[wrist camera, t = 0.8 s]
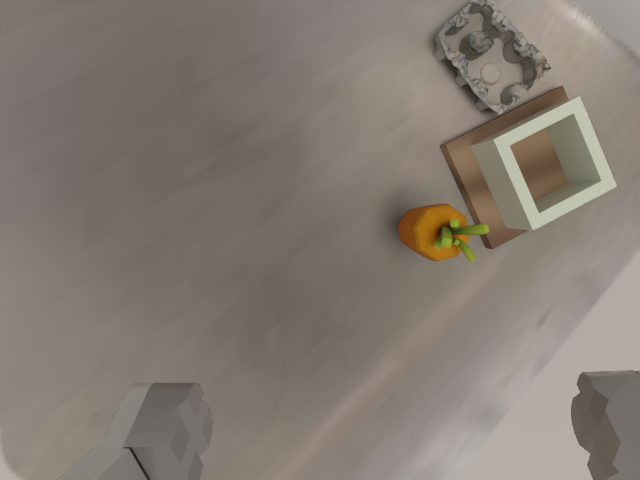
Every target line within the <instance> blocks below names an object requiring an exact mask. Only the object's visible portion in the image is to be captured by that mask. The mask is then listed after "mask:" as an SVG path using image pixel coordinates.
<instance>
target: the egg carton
mask: <svg viewBox="0 0 640 480" xmlns="http://www.w3.org/2000/svg"><path fill="white" fill-rule="evenodd" d="M477 12H480V13H481V14H482V15H483V16H484V18H485V20H484V22H483V26H482V30H483V31H475V32H473V33H471V34H470V35H469V36H468V37H466V38H465V39H464V40H463V41H462V42H461V44H460V52H459V51H455V52H449V50H450V45H449V43H445V42H444V34H446V35H453V34H455V33H457V32H458V31H459V30H460V29H461V28H462V27H464V26H465V25H466V24H467V23H468V22H469V21H468V18H469V17H470V13H471V14H474V13H477ZM498 37H499V38H500V39H501V40H502V41H503V42H504V43H505V46H504V48H503V56H504V58H505V60H506V61H508V62H509V63H517V62H520V63H521V64H522V65H523V66H524V69H525V70H524V72H523V81H524V84H523V83H517V84H514V85H512V86H510V87H508V88H506V89H504V90H503V92H502V94H501V97H500V100H501V103H502V104H494V105H493V104H491V103H489V101H488V99H487V98H486V96H487V92H488V89H487V86H486V85H485V83H486V84H489V85H493V84H496V83H497V82H498V81H499V79H500V76H501V71H500V69H499V67H498V66H497V65H495V64H494V63H487V64H485V65H484V66H483V67H482V69H481V79H478V78H476V79H474V80H472V81H470V80H469V76H468V75H467V73H468V71H467V70H466V68H467V66H468V62H467V61H466V60H465V59H467V60H474V59H476V58H478V57H479V56H481V55H482V54H484V53H485V52H487V51H488V50H489V49H490V48H491V47H492V46H493V44H494V42H493V40H492V39H493V38H498ZM434 39H435V41H436V45H437V48H436V51H435V53H434V54H433V55H434V56H435V58H436V59H437V60H438V61H442V60H446V59H447V60H451V61H452V64H453V65H454V66H455V67H457V76H456V77H455V79H454V80H455V82H456V83H457V84H458V85H459V86H460V87H461V86H464V85H470V87H471V89H472V90H473V92H474V93H475V94H476V95H477V96H478V100H477V102H476V104H475V105H476V107H477V108H478V109H479V110H480V111H483V110H485V109H492V110H494V111H495V112H497V113H498V114H499V115H500V114H502V113H503V112H504V111H505V110H506V109H507V108H508V107H510V106H511V105H512V104H513V103H514V102H515V101H516V100H517V99H518V98H520V97H521V96H522V95H524V94H525V93H526V92H527V91H528V90H529V89H530V87H531V86H532V85H533V84H535V83H536V82H537V81H538V80H539V79H540V78H541V77H543V76H544V75H545V74H546V73H547V72H548V71H549V69H551V67H550V65H549V64H548V63H547V62H546V61H547V60H546V59H545V57H544V56H542V55H541V53H540V51H539V50H538V49H537V48H536V47H535V46H534V45H532V44H531V45H530V44H529V43H528V42H527V41H526V39H525V38H524V36H523V34H522V33H521V32H519V31H518V30H517V29H516V28H515V26H514V25H513V24H512V23H511V21H510V20H509V18H508V17H507V16H506V15H505V14H503V13H502V12H501V11H500V10H499V9H497V8H495V7H494V5H492V4H491V3H489V2H487V0H471V1H470V2H469V4H468V5H467V6H466V7H464V8H463V9H462V10H461V11H460V12H459V13H458V14H457V15H456V16H455V17H454V18H453V19H452V20H450V21H448V22H447V23H446V24H445V25H444V27H443V28H442V29H441V31H440V32H439V33H438V34H437V35H436V36H435V37H434ZM464 74H466V76H465V75H464ZM484 82H485V83H484Z"/></svg>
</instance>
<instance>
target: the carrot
mask: <svg viewBox="0 0 640 480" xmlns="http://www.w3.org/2000/svg"><path fill="white" fill-rule="evenodd" d="M398 229H399V234H400V239H401V241H402V242H403V243H404V244H405V245H406V246H408V247H409V248H411V249H412V250H414V251H415V252H417V253H418V254H420V255H421V256H423V257H426V258H428V259H430V260H433V261H439V260H443V259H448V258H452V257H457V256H458V255H459V253H460V252H461V250H462V251H463V252H464V254H465V255H466V257H467V259H468V260H469V261H470V263H472V262H473V261H474V260H475V255H474V253H473V252H472V250H471V249H470V248H469V247H468V246H467V244H466V243H467V241H468V240H469V235H480V234H487V233H488V232H489V227H488V226H487V225H486V224H479V225H472V226H467V221H466V217H465V216H464V215H462V214H461V213H460V212H458V211H457V210H455V209H454V208H452V207H451V206H450V205H448V204H436V205H430V206H425V207H420V208H416V209H412V210H410V211H408V212H407V213H406V214H405V215H404V217H403V218H402V220H401V221H400V223H399V224H398Z"/></svg>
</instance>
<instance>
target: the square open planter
mask: <svg viewBox="0 0 640 480" xmlns="http://www.w3.org/2000/svg"><path fill="white" fill-rule="evenodd" d="M544 128H546V130H547V133H548V135H549V137H550V140H551V142H552V145H553V147H554V149H555V152H556V154H557V156H558V159H559V161H560V164H561V166H562V168H563V171H564V173H565V175H566V178H567V180H568V184H566V185H564V186H562V187H560V188H558V189H556V190H555V191H553V192H551V193H549V194H547V195H545V196H543V197H541V198H539V199H537V200H535V201H533V199H532V196H531V194H530V192H529V189H528V187H527V185H526V182H525V180H524V178H523V175H522V173H521V171H520V168H519V166H518V164H517V162H516V159H515V157H514V155H513V152H512V150H511V148H510V145H512V144H514V143H516V142H518V141H520V140H522V139H524V138H526V137H528V136H530V135H532V134H534V133H536V132H538V131H540V130H542V129H544ZM470 147H471V149H472V151H473V154H474V156H475V158H476V160H477V163H478V165H479V167H480V169H481V172H482V174H483V176H484V178H485V181H486V183H487V185H488V187H489V190H490V192H491V194H492V196H493V199H494V201H495V203H496V206H497V208H498V210H499V212H500V215H501V217H502V219H503V221H504V224H505V226H506V228H511V229H522V230H535V229H537V228H539V227H541V226H543V225H545V224H546V223H548V222H550V221H552V220H554V219H556V218H558V217H560V216H562V215H564V214H565V213H567V212H569V211H571V210H573V209H575V208H577V207H579V206H581V205H583V204H584V203H586V202H588V201H590V200H592V199H594V198H596V197H598V196H600V195H602V194H604V193H605V192H607V191H609V190H611V189H613V188H615V187H617V186H616V183H615V181H614V178H613V176H612V174H611V171H610V169H609V166H608V164H607V161H606V159H605V156H604V154H603V152H602V149H601V147H600V144H599V142H598V139H597V137H596V134H595V132H594V130H593V127H592V125H591V122H590V120H589V117H588V115H587V112H586V110H585V108H584V105H583V103H582V100H581V98H580V96H578V97H575V98H572V99H569V100H566V101H563V102H561V103H558V104H555V105H552V106H549V107H547V108H545V109H543V110H541V111H539V112H537V113H535V114H533V115H531V116H529V117H527V118H525V119H523V120H521V121H519V122H517V123H515V124H513V125H511V126H509V127H507V128H505V129H503V130H501V131H499V132H497V133H495V134H493V135H491V136H489V137H487V138H485V139H483V140H481V141H479V142H477V143H475V144H473V145H471V146H470Z"/></svg>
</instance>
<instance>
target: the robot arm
mask: <svg viewBox="0 0 640 480" xmlns="http://www.w3.org/2000/svg"><path fill="white" fill-rule="evenodd" d="M577 386H578V388H579V390H580V393H579V394H578V395H577V396H576V397H574V398H573V401H572V406H571V418H572V425H573V429H574V433H575V435H576V438H577V440H578V443H579V445H580V446H582V447H583V448H584V449H585V450H587V451H588V452H589V453H590V457H589V461H588V464H587V466H588V468H589V471H590V473H591V475H592V478H593V480H640V371H632V370H630V371H629V370H628V371H602V372H582V374H580V375H579V378H578V382H577ZM203 393H204V392H203V390H202V388H201V386H200V383H134V384H133V385H132V386H131V387H130V388H129V389H128V390H127V392H126V394H125V396H124V398H123V400H122V402H121V404H120V406H119V408H118V410H117V412H116V415H115V417H114V419H113V421H112V423H111V425H110V427H109V429H108V431H107V433H106V435H105V437H104V439H103V441H102V444H101V446H100V448H99V449H92V450H91V451H90V452H88V453H87V454H86V455H85V456H84V457H83V458H81V459H80V460H79V461H78V462H77V463H76V464H74V465H73V466H72V467H71V468H70V469H69V470H67V471H66V472H65V473H64V474H63V475H61V476H60V477H59V478H58V479H57V480H200V476H201V473H202V469H203V464H202V462H201V459H200V457H199V456H200V455H201V454H202V453H203V452H204V451H205V450H206V449H207V448H208V447H209V444H210V440H211V436H212V425H213V420H212V413H211V410H210V407H209V405H208V404H206V403H205V402H203V401H202V397H203Z"/></svg>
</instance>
